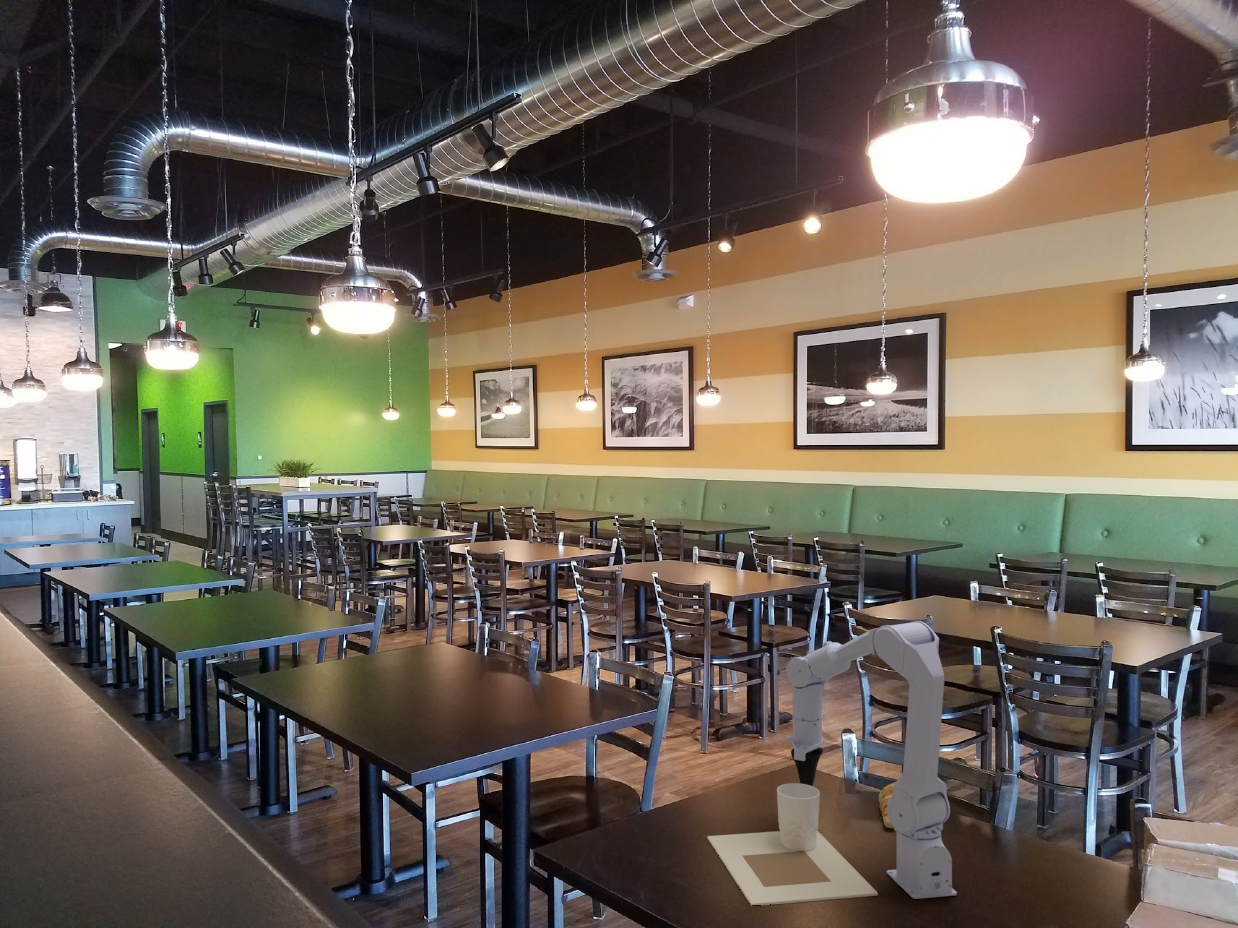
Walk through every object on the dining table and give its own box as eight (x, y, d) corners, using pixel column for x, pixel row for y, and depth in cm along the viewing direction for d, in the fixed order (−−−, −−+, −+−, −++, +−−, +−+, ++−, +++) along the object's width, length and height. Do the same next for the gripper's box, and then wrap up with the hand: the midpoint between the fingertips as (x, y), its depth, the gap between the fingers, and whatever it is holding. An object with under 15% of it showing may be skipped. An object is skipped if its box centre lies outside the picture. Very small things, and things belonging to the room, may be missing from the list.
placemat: (877, 895, 141) (877, 892, 141) (751, 906, 137) (751, 903, 137) (815, 830, 167) (815, 828, 167) (707, 838, 163) (707, 836, 163)
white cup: (820, 854, 155) (820, 799, 155) (776, 850, 157) (776, 796, 157) (818, 836, 163) (819, 784, 163) (777, 833, 164) (777, 781, 164)
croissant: (903, 853, 164) (922, 822, 162) (857, 819, 169) (876, 787, 167) (931, 815, 182) (949, 786, 180) (889, 785, 187) (906, 756, 185)
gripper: (795, 705, 176) (794, 771, 176) (778, 724, 163) (778, 795, 163) (829, 709, 173) (829, 776, 173) (815, 729, 160) (815, 801, 160)
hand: (806, 785), depth 168 cm, fingers closed
